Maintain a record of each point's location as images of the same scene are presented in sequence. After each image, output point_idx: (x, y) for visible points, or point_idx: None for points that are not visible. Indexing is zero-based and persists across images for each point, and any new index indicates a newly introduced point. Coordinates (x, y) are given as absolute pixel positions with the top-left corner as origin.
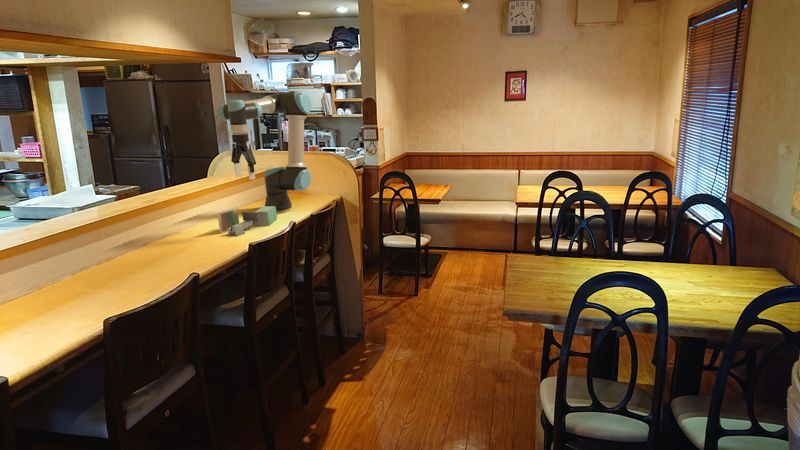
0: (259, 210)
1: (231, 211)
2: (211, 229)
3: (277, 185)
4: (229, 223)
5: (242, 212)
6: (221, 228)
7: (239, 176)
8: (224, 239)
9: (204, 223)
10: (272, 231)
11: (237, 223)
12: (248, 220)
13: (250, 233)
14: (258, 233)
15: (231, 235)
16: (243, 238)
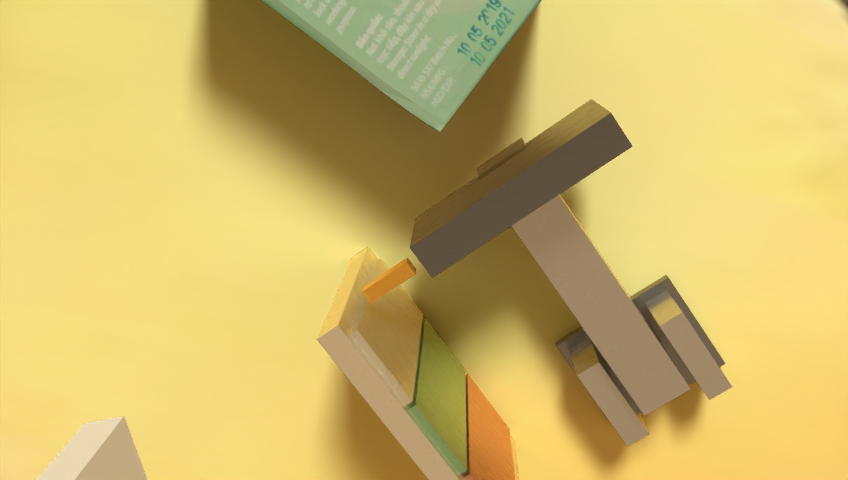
0: (406, 41)
1: (419, 403)
2: (291, 470)
3: None
4: (455, 386)
5: (438, 273)
6: (514, 461)
7: (145, 478)
8: (737, 470)
9: (5, 465)
10: (814, 32)
11: None
12: (530, 215)
13: (712, 237)
14: (776, 175)
15: None
16: (840, 338)
